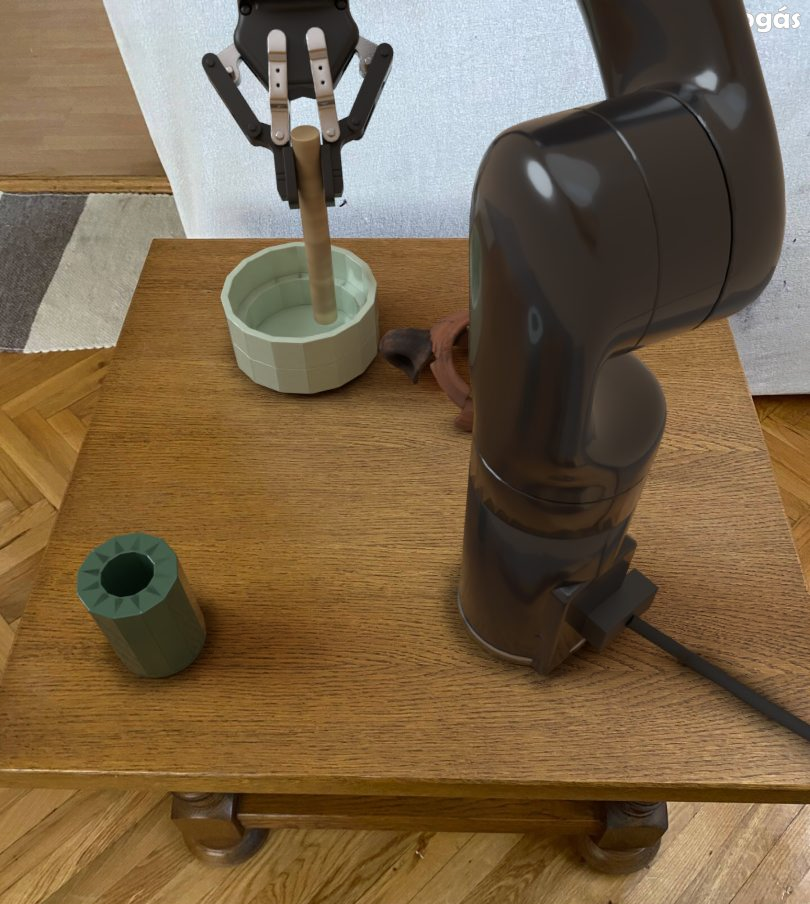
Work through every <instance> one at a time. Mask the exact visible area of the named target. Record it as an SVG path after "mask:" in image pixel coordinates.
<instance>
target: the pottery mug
mask: <svg viewBox="0 0 810 904" xmlns="http://www.w3.org/2000/svg"><path fill="white" fill-rule="evenodd" d="M468 337H469V310H462V311H461V310H460V311H457V312H454V313H451V314H449V315H446V316H445V317H443V318H441V319H440V320H438V321H437V322H435V323H434V325H432V327H430V328H428V329H421V328H415V327H404V328H403V327H401V328H395V329H394V328H393V329H389V330H388V331H387V332H386V333H385V334H384V335H382V338H380V340H379V345H378V350H379V351H380V352H381V354H382V357H383V359H385V361H386V362H387V364H390V365H391V366H392V367H394V368H396V369H398V370H400V371H401V372H403V373H405V375H406V376H407V377H408V379H409V381H410V382H411V383H412V385H414V386H417V385H418V384H419V381H420V380H419V377H420V374H421V371H422V370H423V369H424V368H425V367H426V366H427V365H428V363H429V362H430V360H431V358H433V356H434V358H435V360H434V361H433V362H431V363H430V364H429V367H430V370H431V372H432V374H433V376H434V377H435V379H436V382H437V384H438V386H439V387H440V388H441V390H443V392H444V394H445V395H446V396H447V398H448V399H449V400H450V401H451V402H452V403H453V404H454V405H455V406H456V407H457V408H459V409H460V412H459V414H458V416H456V417H455V418H454V419H453V425H454V427H456V428H458V429H461V430H466V431H472V429H473V418H474V406H473V398H472V396H470V395H471V393H472V390H471V386H470V385H468V384H467V383H466V382H465V381H464V380H463V378H462V377H461V376H460V375H459V373H458V371H457V369H456V367H455V364H454V359H453V358H454V357H453V347H455V348H456V347H458V348H463V349H468Z"/></svg>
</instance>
